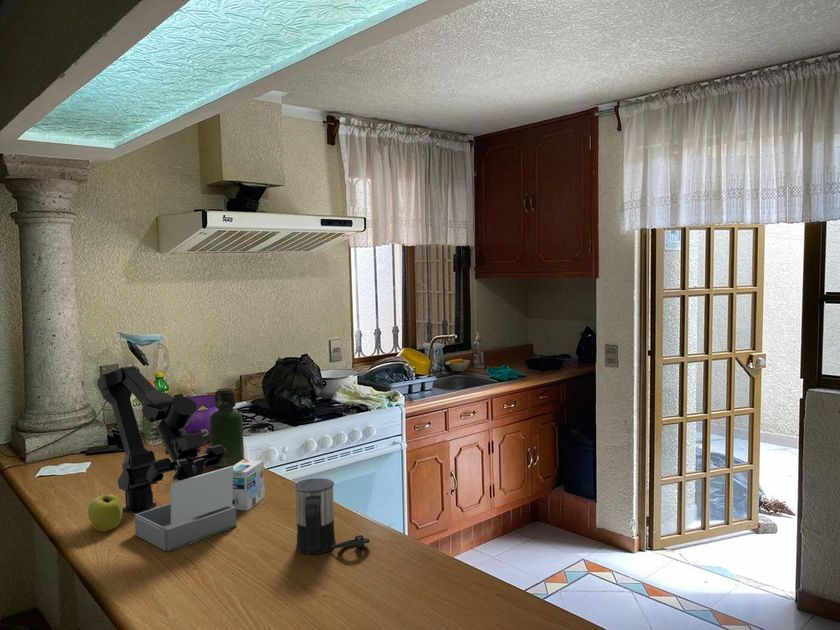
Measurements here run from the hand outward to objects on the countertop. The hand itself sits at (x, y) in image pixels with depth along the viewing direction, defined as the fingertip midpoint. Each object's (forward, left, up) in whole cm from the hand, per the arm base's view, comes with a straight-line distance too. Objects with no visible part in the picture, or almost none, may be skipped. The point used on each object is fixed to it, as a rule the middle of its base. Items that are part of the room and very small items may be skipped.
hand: (202, 491), depth 151 cm
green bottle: (-32, +52, -12) cm, 63 cm away
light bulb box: (-4, +23, -12) cm, 26 cm away
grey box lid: (0, 0, -6) cm, 6 cm away
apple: (-27, -3, -12) cm, 30 cm away
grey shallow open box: (-8, +3, -12) cm, 14 cm away
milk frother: (+32, +5, -12) cm, 34 cm away
